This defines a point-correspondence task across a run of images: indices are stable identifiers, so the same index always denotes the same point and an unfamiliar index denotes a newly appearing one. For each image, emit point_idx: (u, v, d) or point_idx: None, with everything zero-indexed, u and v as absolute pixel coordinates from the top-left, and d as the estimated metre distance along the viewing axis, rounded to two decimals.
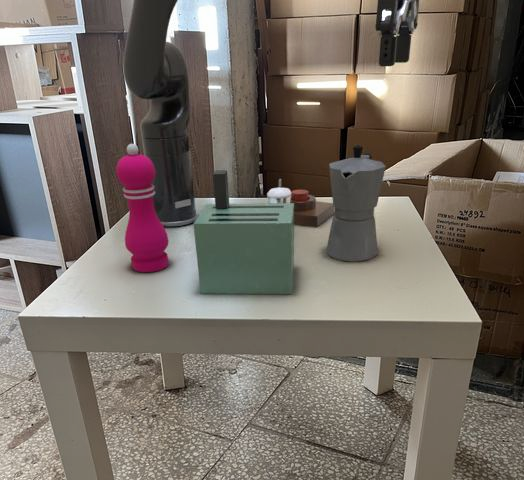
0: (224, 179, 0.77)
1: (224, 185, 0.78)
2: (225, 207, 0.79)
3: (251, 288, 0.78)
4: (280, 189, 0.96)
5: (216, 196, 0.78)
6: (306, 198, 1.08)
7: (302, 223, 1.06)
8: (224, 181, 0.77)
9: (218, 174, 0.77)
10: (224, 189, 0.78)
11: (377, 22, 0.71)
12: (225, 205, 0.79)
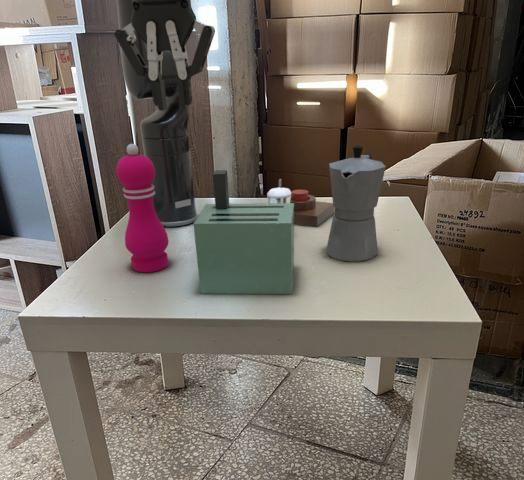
0: (224, 179, 0.77)
1: (224, 185, 0.78)
2: (225, 207, 0.79)
3: (251, 288, 0.78)
4: (280, 189, 0.96)
5: (216, 196, 0.78)
6: (306, 198, 1.08)
7: (302, 223, 1.06)
8: (224, 181, 0.77)
9: (218, 174, 0.77)
10: (224, 189, 0.78)
11: None
12: (225, 205, 0.79)
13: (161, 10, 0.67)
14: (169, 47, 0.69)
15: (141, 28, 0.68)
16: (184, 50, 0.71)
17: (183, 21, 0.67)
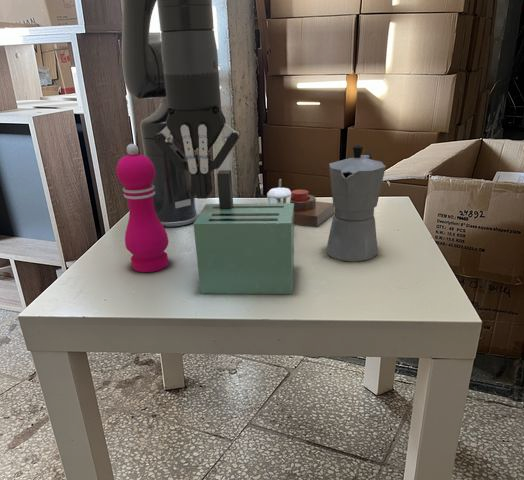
0: (228, 179, 0.77)
1: (228, 185, 0.77)
2: (229, 207, 0.79)
3: (251, 288, 0.78)
4: (280, 189, 0.96)
5: (220, 196, 0.78)
6: (306, 198, 1.08)
7: (302, 223, 1.06)
8: (228, 181, 0.77)
9: (222, 174, 0.77)
10: (228, 189, 0.78)
11: None
12: (229, 205, 0.79)
13: (194, 114, 0.73)
14: None
15: (176, 129, 0.74)
16: (209, 147, 0.77)
17: (214, 124, 0.73)
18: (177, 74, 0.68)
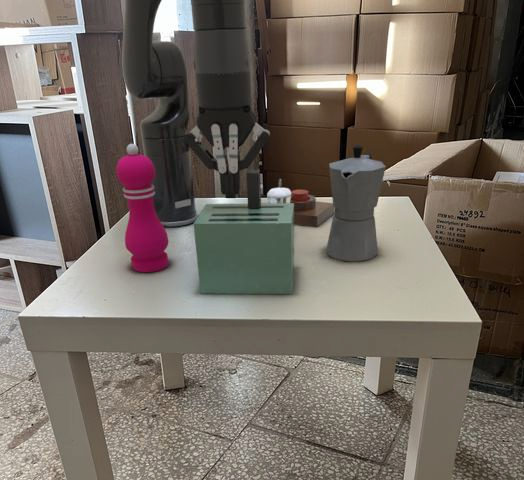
0: (257, 179, 0.77)
1: (257, 184, 0.77)
2: (258, 207, 0.79)
3: (251, 288, 0.78)
4: (280, 189, 0.96)
5: (249, 196, 0.78)
6: (306, 198, 1.08)
7: (302, 223, 1.06)
8: (257, 181, 0.77)
9: (252, 174, 0.76)
10: (257, 189, 0.77)
11: None
12: (257, 205, 0.79)
13: (225, 114, 0.72)
14: None
15: (206, 128, 0.74)
16: (239, 146, 0.77)
17: (245, 123, 0.73)
18: (210, 73, 0.68)
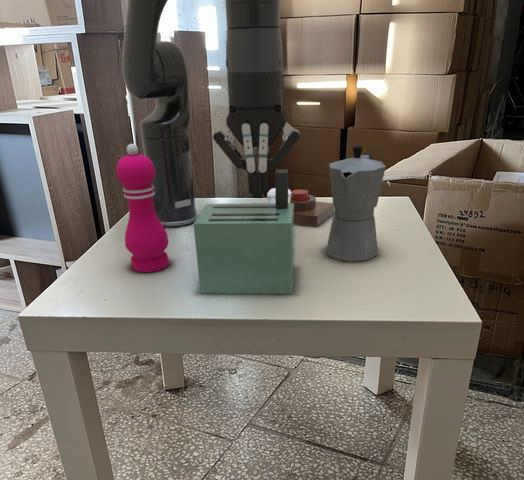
0: (286, 178, 0.76)
1: (285, 184, 0.77)
2: (285, 206, 0.78)
3: (251, 288, 0.78)
4: None
5: (277, 195, 0.78)
6: (306, 198, 1.08)
7: (302, 223, 1.06)
8: (286, 180, 0.76)
9: (280, 173, 0.76)
10: (286, 188, 0.77)
11: None
12: (285, 205, 0.78)
13: (256, 113, 0.72)
14: None
15: (237, 127, 0.73)
16: (268, 146, 0.76)
17: (275, 123, 0.72)
18: (243, 72, 0.67)
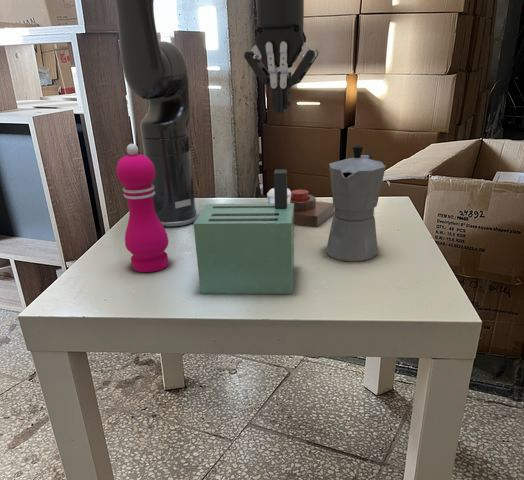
0: (285, 178, 0.76)
1: (284, 184, 0.77)
2: (284, 206, 0.78)
3: (251, 288, 0.78)
4: None
5: (276, 195, 0.78)
6: (306, 198, 1.08)
7: (302, 223, 1.06)
8: (285, 180, 0.76)
9: (279, 173, 0.76)
10: (285, 188, 0.77)
11: None
12: (284, 205, 0.78)
13: (278, 33, 0.84)
14: None
15: (263, 46, 0.86)
16: (291, 65, 0.87)
17: (294, 42, 0.83)
18: None
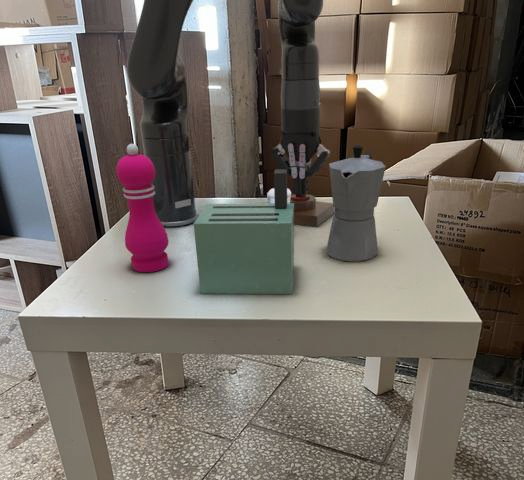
0: (285, 178, 0.76)
1: (284, 184, 0.77)
2: (284, 206, 0.78)
3: (251, 288, 0.78)
4: None
5: (276, 195, 0.78)
6: None
7: (302, 223, 1.06)
8: (285, 180, 0.76)
9: (279, 173, 0.76)
10: (285, 188, 0.77)
11: None
12: (284, 205, 0.78)
13: (298, 136, 1.02)
14: None
15: (286, 145, 1.04)
16: (309, 160, 1.05)
17: (311, 144, 1.01)
18: (287, 109, 0.98)
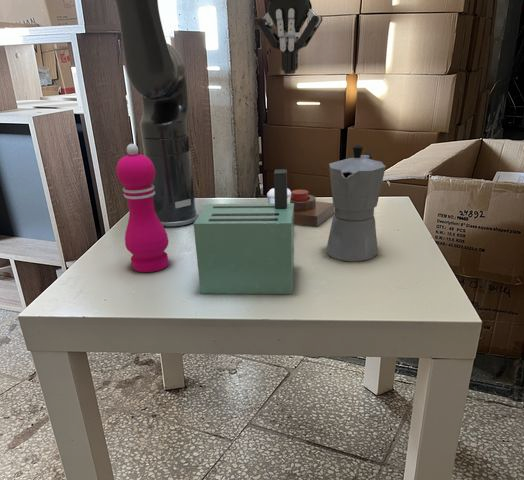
0: (285, 178, 0.76)
1: (284, 184, 0.77)
2: (284, 206, 0.78)
3: (251, 288, 0.78)
4: None
5: (276, 195, 0.78)
6: (306, 198, 1.08)
7: (302, 223, 1.06)
8: (285, 180, 0.76)
9: (279, 173, 0.76)
10: (285, 188, 0.77)
11: None
12: (284, 205, 0.78)
13: (287, 1, 0.95)
14: None
15: (274, 13, 0.97)
16: (299, 30, 0.98)
17: (301, 8, 0.94)
18: None
